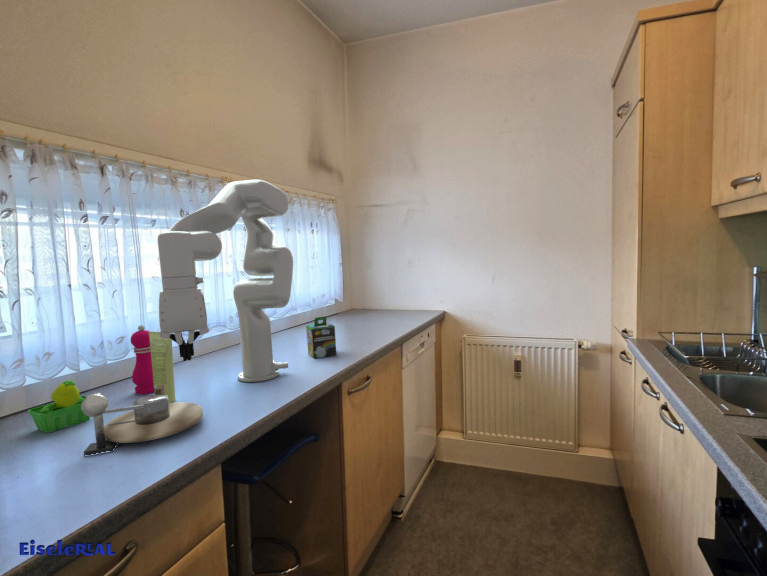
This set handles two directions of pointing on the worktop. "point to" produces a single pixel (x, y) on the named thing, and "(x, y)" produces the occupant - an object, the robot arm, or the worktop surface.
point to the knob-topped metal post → (100, 421)
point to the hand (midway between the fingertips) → (187, 359)
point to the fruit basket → (60, 409)
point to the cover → (151, 409)
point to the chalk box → (321, 339)
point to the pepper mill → (142, 362)
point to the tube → (162, 364)
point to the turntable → (179, 420)
